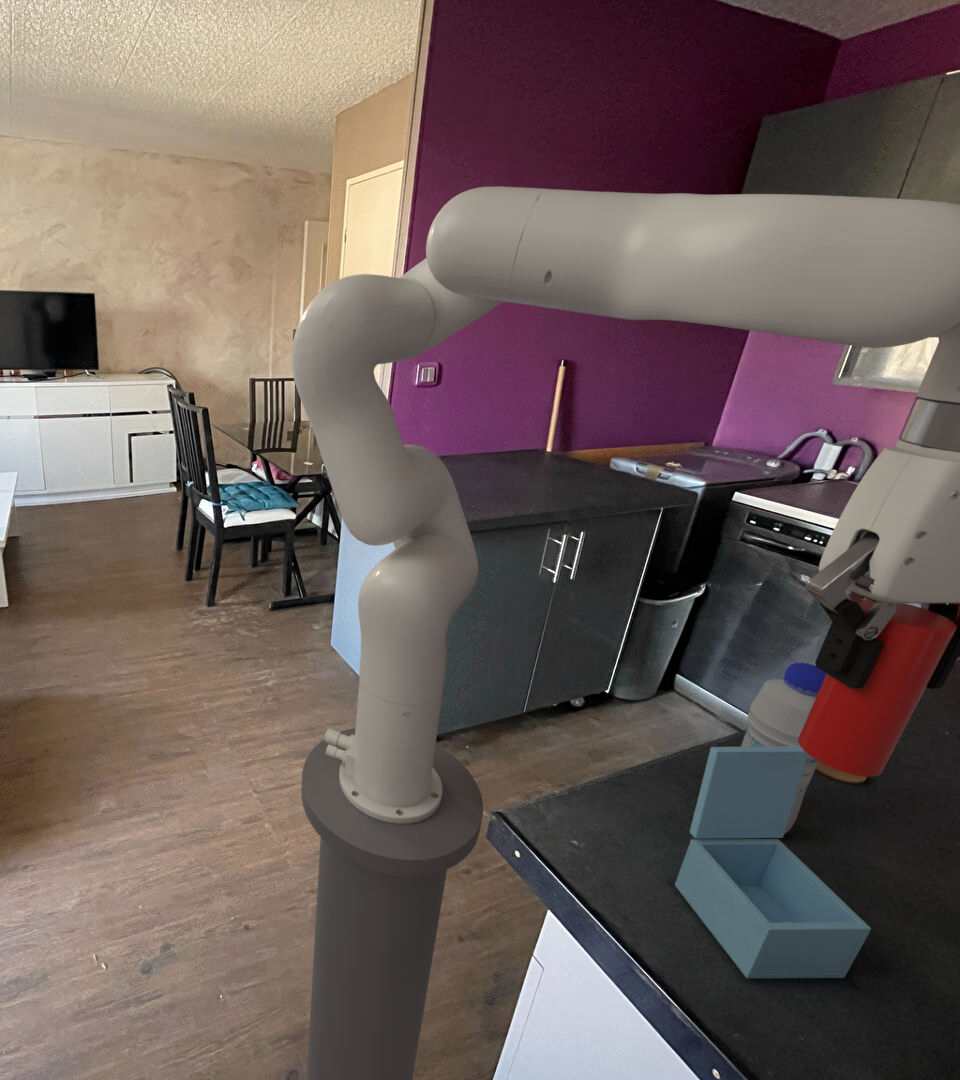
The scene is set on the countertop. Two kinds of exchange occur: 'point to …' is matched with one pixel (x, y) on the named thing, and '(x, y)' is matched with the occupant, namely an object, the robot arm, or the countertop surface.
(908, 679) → the can
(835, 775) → the coaster
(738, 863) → the box
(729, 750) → the cooler lid
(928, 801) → the countertop surface
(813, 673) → the bottle
